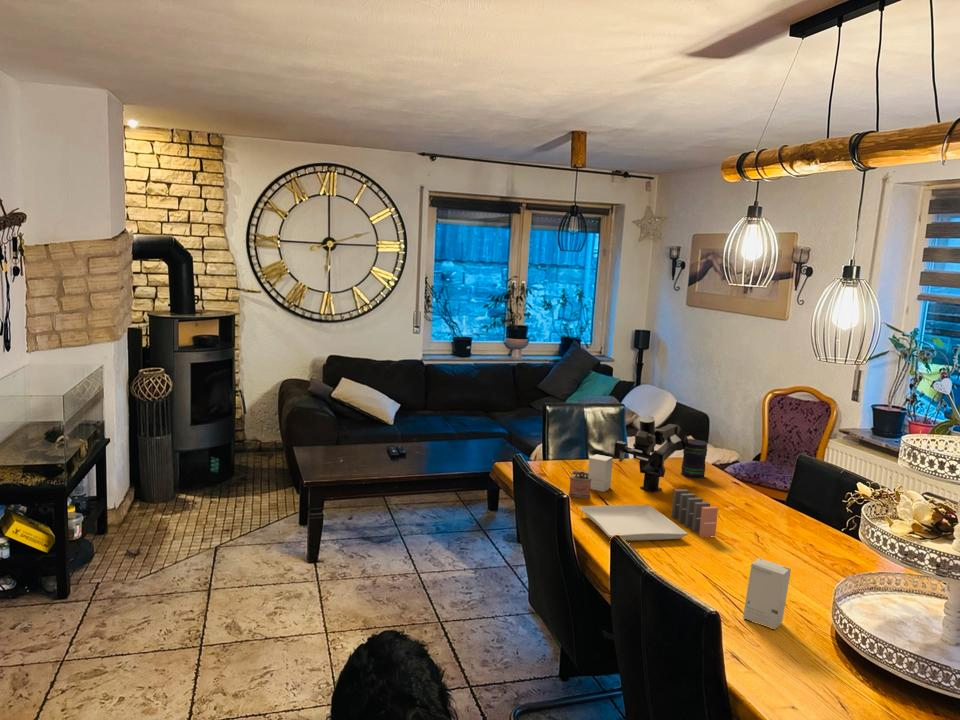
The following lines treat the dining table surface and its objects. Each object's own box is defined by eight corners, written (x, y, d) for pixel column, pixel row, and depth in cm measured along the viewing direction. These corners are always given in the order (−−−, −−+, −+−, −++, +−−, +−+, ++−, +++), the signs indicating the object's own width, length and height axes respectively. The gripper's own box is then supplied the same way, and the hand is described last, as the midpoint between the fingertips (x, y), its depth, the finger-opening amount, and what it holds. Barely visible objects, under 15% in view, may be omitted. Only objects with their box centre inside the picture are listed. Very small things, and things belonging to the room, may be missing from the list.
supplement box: (611, 488, 280) (613, 457, 278) (603, 492, 274) (606, 460, 272) (593, 484, 284) (596, 453, 282) (586, 488, 278) (588, 457, 276)
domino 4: (691, 531, 237) (694, 502, 236) (704, 530, 238) (707, 501, 237) (694, 532, 235) (697, 504, 234) (707, 532, 237) (710, 503, 235)
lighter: (589, 496, 268) (591, 470, 267) (590, 498, 265) (592, 473, 264) (568, 494, 269) (570, 468, 268) (568, 497, 266) (570, 471, 264)
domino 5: (698, 536, 233) (701, 506, 231) (712, 535, 234) (715, 506, 233) (701, 537, 231) (704, 508, 230) (715, 537, 232) (718, 508, 231)
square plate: (609, 546, 220) (610, 534, 220) (577, 515, 247) (578, 505, 246) (687, 543, 227) (689, 531, 226) (648, 513, 253) (649, 503, 253)
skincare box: (742, 619, 177) (748, 563, 175) (750, 611, 181) (757, 556, 179) (777, 632, 171) (783, 573, 169) (784, 623, 176) (791, 566, 174)
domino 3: (684, 526, 241) (687, 497, 240) (697, 525, 242) (700, 497, 241) (687, 527, 240) (689, 499, 238) (700, 527, 241) (703, 499, 240)
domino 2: (677, 521, 246) (680, 493, 244) (690, 520, 247) (693, 493, 246) (680, 523, 244) (682, 495, 243) (693, 522, 245) (695, 494, 244)
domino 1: (671, 516, 250) (673, 489, 249) (684, 516, 251) (686, 489, 250) (673, 518, 248) (676, 491, 247) (686, 518, 250) (689, 490, 248)
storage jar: (707, 479, 299) (710, 445, 297) (684, 478, 299) (687, 444, 298) (700, 472, 309) (703, 439, 307) (678, 471, 309) (681, 438, 307)
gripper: (623, 421, 272) (609, 438, 259) (671, 434, 263) (659, 451, 251) (621, 447, 276) (606, 464, 264) (668, 460, 268) (655, 478, 255)
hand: (631, 464), depth 258 cm, fingers open, 9 cm apart
